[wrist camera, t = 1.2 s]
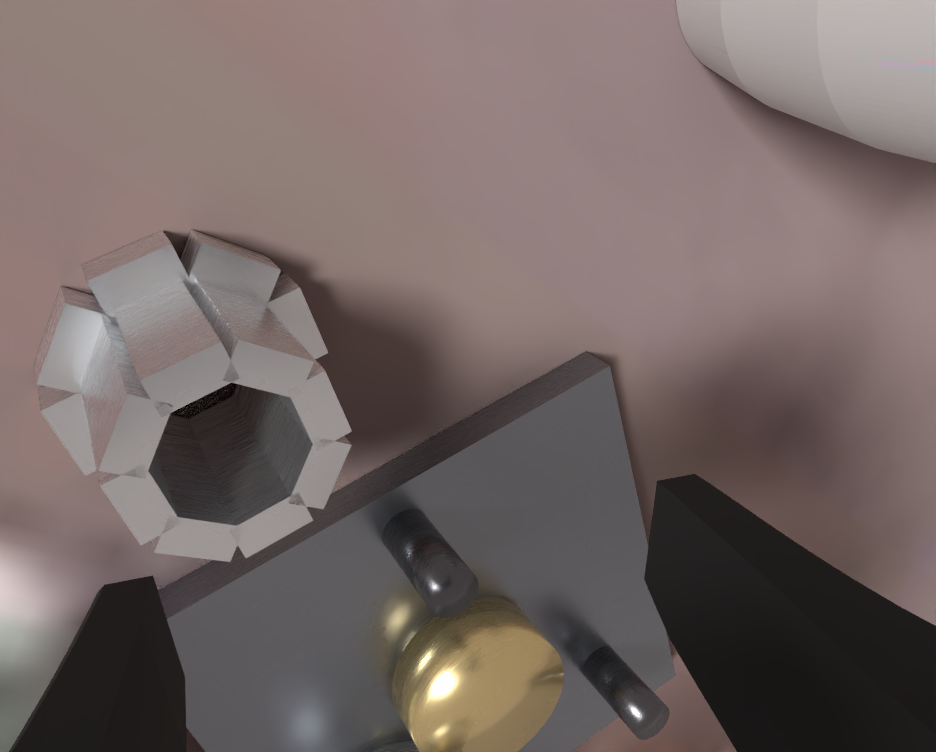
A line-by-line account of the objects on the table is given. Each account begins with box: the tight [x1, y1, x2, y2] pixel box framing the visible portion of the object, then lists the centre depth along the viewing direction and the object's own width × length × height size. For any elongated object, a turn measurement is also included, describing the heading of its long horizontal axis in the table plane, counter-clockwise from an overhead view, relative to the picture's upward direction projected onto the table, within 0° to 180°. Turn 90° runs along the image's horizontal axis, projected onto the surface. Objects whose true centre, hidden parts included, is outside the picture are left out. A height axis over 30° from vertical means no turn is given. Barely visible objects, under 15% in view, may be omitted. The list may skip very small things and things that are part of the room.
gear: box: [34, 230, 352, 562], centre depth 17 cm, size 6×6×5 cm
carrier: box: [158, 352, 676, 752], centre depth 25 cm, size 15×15×4 cm
